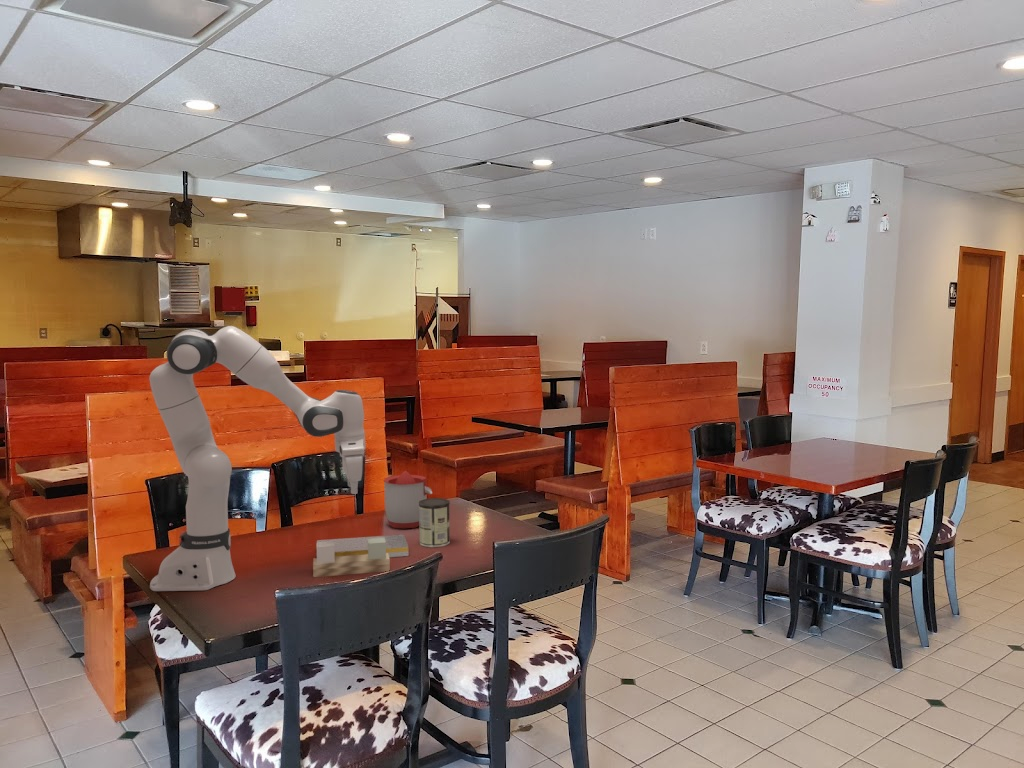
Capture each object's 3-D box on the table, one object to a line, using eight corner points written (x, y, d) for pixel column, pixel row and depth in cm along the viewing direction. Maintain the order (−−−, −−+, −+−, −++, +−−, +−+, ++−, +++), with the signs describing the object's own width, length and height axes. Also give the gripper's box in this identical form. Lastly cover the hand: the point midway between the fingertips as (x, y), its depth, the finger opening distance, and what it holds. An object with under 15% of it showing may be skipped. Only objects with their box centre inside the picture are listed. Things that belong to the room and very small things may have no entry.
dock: (317, 563, 234) (316, 553, 234) (317, 549, 248) (317, 540, 248) (408, 556, 241) (408, 546, 241) (403, 543, 255) (403, 534, 255)
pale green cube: (368, 560, 226) (368, 543, 225) (367, 554, 231) (367, 538, 230) (385, 558, 227) (385, 542, 227) (384, 553, 232) (384, 537, 231)
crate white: (316, 563, 222) (316, 547, 222) (317, 558, 227) (316, 542, 227) (334, 562, 223) (334, 545, 223) (334, 557, 228) (333, 541, 228)
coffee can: (431, 536, 262) (430, 496, 261) (455, 541, 257) (455, 500, 256) (412, 544, 254) (412, 502, 252) (437, 549, 248) (437, 506, 247)
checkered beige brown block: (313, 578, 222) (313, 564, 221) (313, 571, 228) (313, 558, 227) (389, 572, 227) (389, 559, 227) (388, 565, 233) (387, 552, 233)
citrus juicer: (429, 531, 269) (428, 475, 267) (380, 530, 270) (379, 475, 268) (435, 519, 285) (434, 466, 283) (388, 519, 285) (387, 466, 283)
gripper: (336, 439, 235) (338, 483, 237) (342, 451, 216) (345, 499, 218) (357, 437, 237) (359, 481, 239) (365, 449, 218) (367, 496, 219)
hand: (352, 489), depth 228 cm, fingers open, 8 cm apart
